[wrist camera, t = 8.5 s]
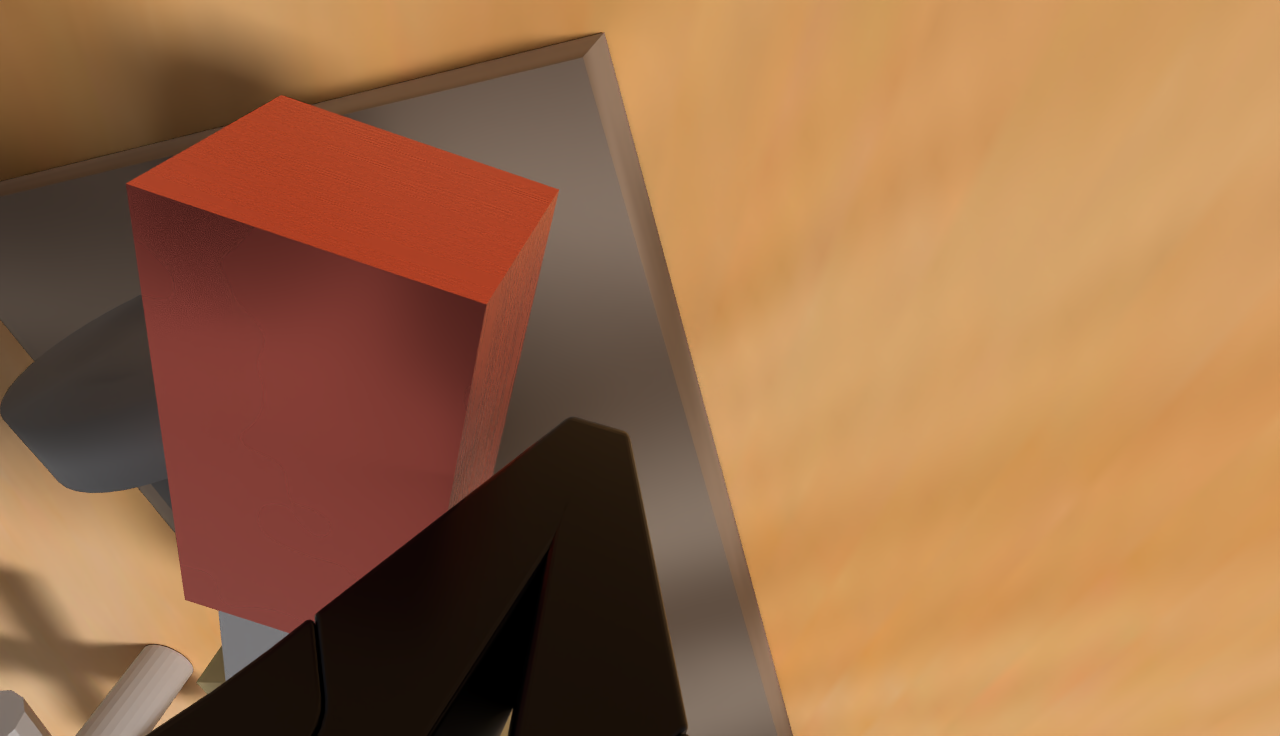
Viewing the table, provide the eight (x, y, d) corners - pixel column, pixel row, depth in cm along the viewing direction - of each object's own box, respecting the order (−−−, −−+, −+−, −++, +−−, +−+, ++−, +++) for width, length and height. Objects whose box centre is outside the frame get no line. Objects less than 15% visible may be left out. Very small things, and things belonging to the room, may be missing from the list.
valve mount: (-20, 186, 17) (-396, 364, 11) (604, 32, 13) (461, 197, 7) (430, 783, 29) (349, 995, 24) (810, 801, 25) (810, 1059, 20)
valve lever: (417, 841, 16) (375, 955, 15) (277, 796, 16) (218, 907, 14) (579, 196, 7) (513, 313, 5) (259, 87, 7) (98, 175, 5)
